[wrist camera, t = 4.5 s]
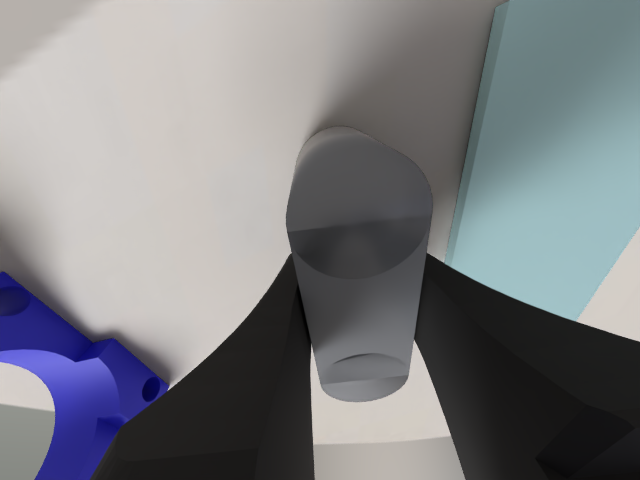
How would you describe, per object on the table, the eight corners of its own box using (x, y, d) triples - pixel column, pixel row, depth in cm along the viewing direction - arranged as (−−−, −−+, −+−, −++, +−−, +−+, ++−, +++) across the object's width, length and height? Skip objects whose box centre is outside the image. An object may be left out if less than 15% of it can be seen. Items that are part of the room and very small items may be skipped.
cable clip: (170, 383, 18) (114, 498, 13) (118, 393, 18) (43, 509, 13) (33, 262, 12) (-183, 387, 7) (-40, 282, 12) (-298, 414, 7)
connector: (381, 120, 8) (443, 134, 5) (377, 333, 15) (402, 415, 11) (287, 132, 9) (270, 157, 5) (323, 340, 15) (329, 423, 11)
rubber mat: (785, -35, 7) (822, -45, 7) (565, 315, 15) (574, 322, 15) (495, 7, 7) (509, 0, 7) (430, 331, 16) (435, 339, 15)
